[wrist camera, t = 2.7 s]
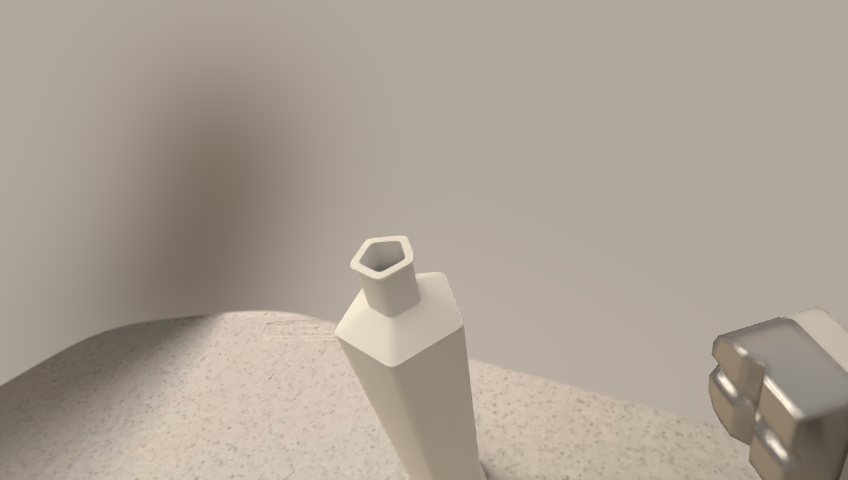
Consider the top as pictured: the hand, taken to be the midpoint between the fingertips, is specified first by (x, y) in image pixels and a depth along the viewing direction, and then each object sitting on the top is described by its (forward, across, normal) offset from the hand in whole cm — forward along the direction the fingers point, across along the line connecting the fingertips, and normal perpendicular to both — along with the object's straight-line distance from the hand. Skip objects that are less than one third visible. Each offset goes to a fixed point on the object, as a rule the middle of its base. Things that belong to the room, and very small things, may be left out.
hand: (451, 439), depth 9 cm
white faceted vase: (+12, 0, +20) cm, 23 cm away
